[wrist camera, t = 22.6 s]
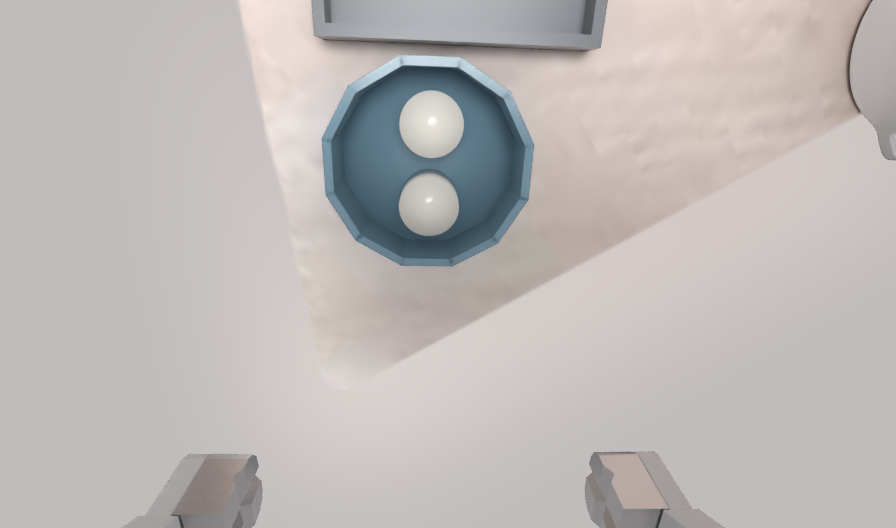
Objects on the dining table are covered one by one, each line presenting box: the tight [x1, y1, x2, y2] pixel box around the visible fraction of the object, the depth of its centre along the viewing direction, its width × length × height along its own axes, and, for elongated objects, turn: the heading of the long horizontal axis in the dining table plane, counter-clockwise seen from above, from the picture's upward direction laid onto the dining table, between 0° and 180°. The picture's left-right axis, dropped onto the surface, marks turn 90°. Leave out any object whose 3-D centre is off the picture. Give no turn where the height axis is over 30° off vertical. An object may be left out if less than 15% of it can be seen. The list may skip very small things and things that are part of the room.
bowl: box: [322, 55, 534, 266], centre depth 34 cm, size 15×15×6 cm
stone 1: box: [399, 90, 464, 158], centre depth 33 cm, size 5×5×3 cm
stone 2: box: [399, 169, 459, 236], centre depth 35 cm, size 5×5×3 cm
